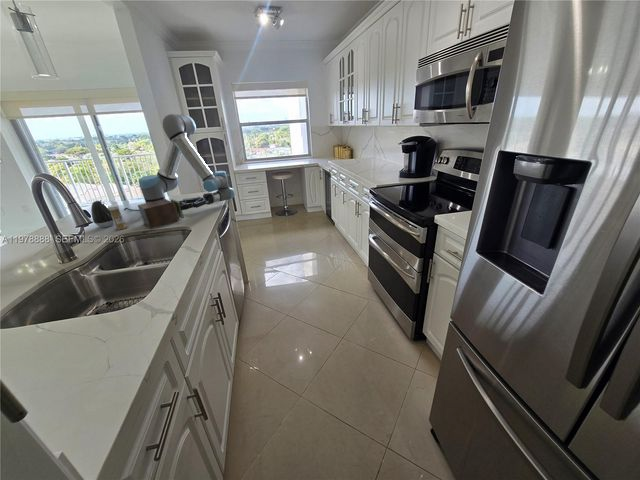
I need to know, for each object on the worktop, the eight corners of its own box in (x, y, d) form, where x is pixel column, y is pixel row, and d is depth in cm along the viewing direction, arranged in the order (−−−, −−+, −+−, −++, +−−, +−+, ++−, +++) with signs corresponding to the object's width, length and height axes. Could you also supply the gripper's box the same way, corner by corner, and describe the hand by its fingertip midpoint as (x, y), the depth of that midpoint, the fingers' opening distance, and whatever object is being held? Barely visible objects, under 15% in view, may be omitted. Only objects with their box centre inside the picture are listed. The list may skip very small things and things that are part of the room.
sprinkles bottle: (123, 229, 144) (114, 206, 138) (115, 230, 144) (105, 207, 138) (128, 226, 148) (119, 204, 143) (119, 227, 148) (110, 205, 142)
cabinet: (170, 216, 161) (164, 198, 156) (178, 221, 153) (172, 202, 148) (144, 223, 151) (137, 205, 146) (151, 228, 143) (144, 208, 138)
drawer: (184, 212, 165) (179, 197, 161) (191, 215, 158) (187, 200, 154) (153, 220, 154) (148, 204, 149) (159, 224, 146) (154, 207, 142)
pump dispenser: (120, 221, 158) (110, 197, 151) (114, 227, 149) (103, 201, 142) (101, 224, 155) (90, 199, 148) (93, 230, 146) (81, 204, 139)
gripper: (221, 206, 164) (186, 216, 150) (204, 200, 179) (171, 208, 165) (218, 195, 161) (183, 203, 147) (202, 190, 176) (168, 197, 162)
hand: (177, 206), depth 156 cm, fingers closed on drawer, 11 cm apart
